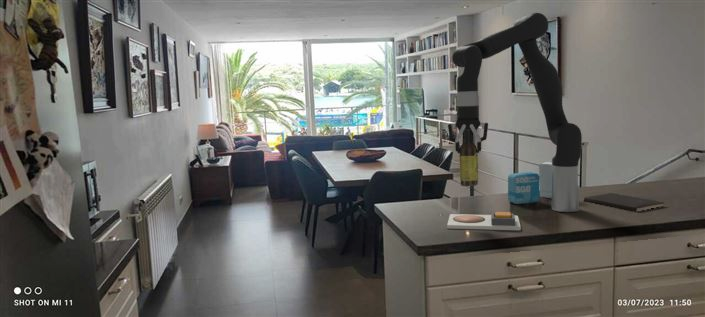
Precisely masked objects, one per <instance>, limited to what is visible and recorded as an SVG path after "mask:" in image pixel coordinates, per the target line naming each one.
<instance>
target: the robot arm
mask: <svg viewBox="0 0 705 317" xmlns="http://www.w3.org/2000/svg"><path fill="white" fill-rule="evenodd" d="M548 30H549V21H548V18H547V17H546V15H544V14H543V13H541V12H533V13H530V14H529V13H528V14H527V15H525V16H522V17H520V18H518V19H516V20H515V22H514V23H513V26H511V27H508V28H506V29H503V30H500V31H497V32H495V33H491V34H489V35H486V36H485V37H482V38H481V39H479V40H477V41H474V42H470V43H467V44H464V45H461V46H459V47H457V48H456V49H455V50H454V51H453V54H452V56H451V59H452V62H453V64H454V65H455V66H456V67H459V68H463V72H462V73H461V74H459V75H458V76H457V79H456V91H457V92H456V102H455V104H456V121H455V123H448V124H447V128H448V129H447V130H448V134H449V140H450V141H451V142H454V144H455V147H454V148H455V149H454V150H455V152H457V154H460V147H461V144H460V140H461V137H462V136H463V132H464V130H467V129H471V130H472V134H473V133H474V134H473V136H474V137H475V138H476V140H477V141H476V148H477V154H480V152H481V151H482V143H483V142H484V141H486V140H487V138H488V129H489V123H488V122H481V120H480V108H479V107H480V101H479V100H480V98H479V83H478V82H479V81H478V80H479V75H480V71H481V68H482V63H483V60H485V59H488V58H492V57H493V56H496V55H497V54H499V53H502V52H504V51H506V50H507V49H510V48H511V47H513V46H516V45H518V47H519V48H520V50H521V53H522V55H523V57H524V60H525V63H526V65H527V68H528V71H529V74H530V77H531V80H532V84H533V87H534V90H535V93H536V96H537V97H538V100H539V104H540V106H541V109H542V112H543V115H544V119H545V123H546V127H547V131H548V138H549V140H550V141H551V143H552V144H554V145H555V146H556V149H555V155H554V156H553V157H552V158H551V159H552V160H551V162H552V198H551V211H552V210H553V211H555V212H560V213H561V212H563V213H572V212H579V211H580V209H579V208H580V186H579V161H580V159H581V156H582V140H583V139H582V131H581V129H580V127H579V126H578V125H577V124H575V123H571V122H569V121H568V119H567V116H566V114H565V112H564V107H563V85H562V82H561V77H560V76H559V73H558V69H557V68H556V67H555V65H553V64H552V62H551V61H550V60H548V58H547V57H546V56H544V54H543V53H542V51H541V50H540V48H539V45H538V43H537V39H540V38H543V36H545V34H547V32H548ZM480 126H481V128H482V129H483V133H482V134H483V135H482V136H480V134H479V132H478V129H479V128H480ZM455 127H456V128H457V129H458V131H459V132H458V134H457V135H456V137H454V129H455Z"/></svg>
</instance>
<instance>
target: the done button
mask: <svg viewBox="0 0 705 317" xmlns="http://www.w3.org/2000/svg"><path fill="white" fill-rule="evenodd" d="M494 213H495V218H511V214H512V213H511V212H510V211H495V212H494ZM510 213H511V214H510Z"/></svg>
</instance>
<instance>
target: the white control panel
mask: <svg viewBox="0 0 705 317" xmlns="http://www.w3.org/2000/svg"><path fill="white" fill-rule="evenodd" d="M510 214H511V218H495V212H491V213H490V214H466V213H465V214H461V213H460V214H459V213H454V214H453V213H450V214H449V216H448V221H447V224H446V229H450V230H451V229H455V230H456V229H457V230H490V231H495V230H496V231H521V230H522V228H521V223H520V219H519V216H518V215H515V214H514V213H511V212H510Z"/></svg>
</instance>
